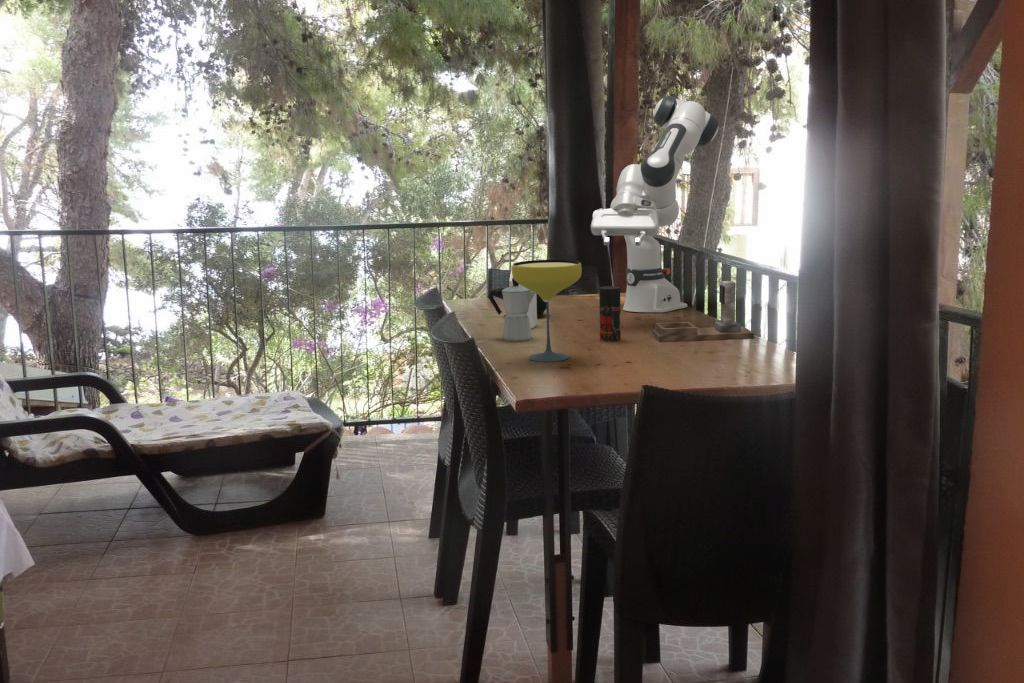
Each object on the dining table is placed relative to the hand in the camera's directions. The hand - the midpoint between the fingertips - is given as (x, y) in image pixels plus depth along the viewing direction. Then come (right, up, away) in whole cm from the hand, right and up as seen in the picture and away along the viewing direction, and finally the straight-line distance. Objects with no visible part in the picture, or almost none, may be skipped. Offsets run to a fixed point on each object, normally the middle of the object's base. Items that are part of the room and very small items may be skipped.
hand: (622, 244), depth 285 cm
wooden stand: (+22, -27, -8) cm, 36 cm away
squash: (-27, -21, +36) cm, 50 cm away
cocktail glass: (-23, -33, -31) cm, 51 cm away
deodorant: (-4, -28, -8) cm, 30 cm away
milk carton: (-29, -24, +16) cm, 41 cm away
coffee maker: (-32, -28, -2) cm, 43 cm away
